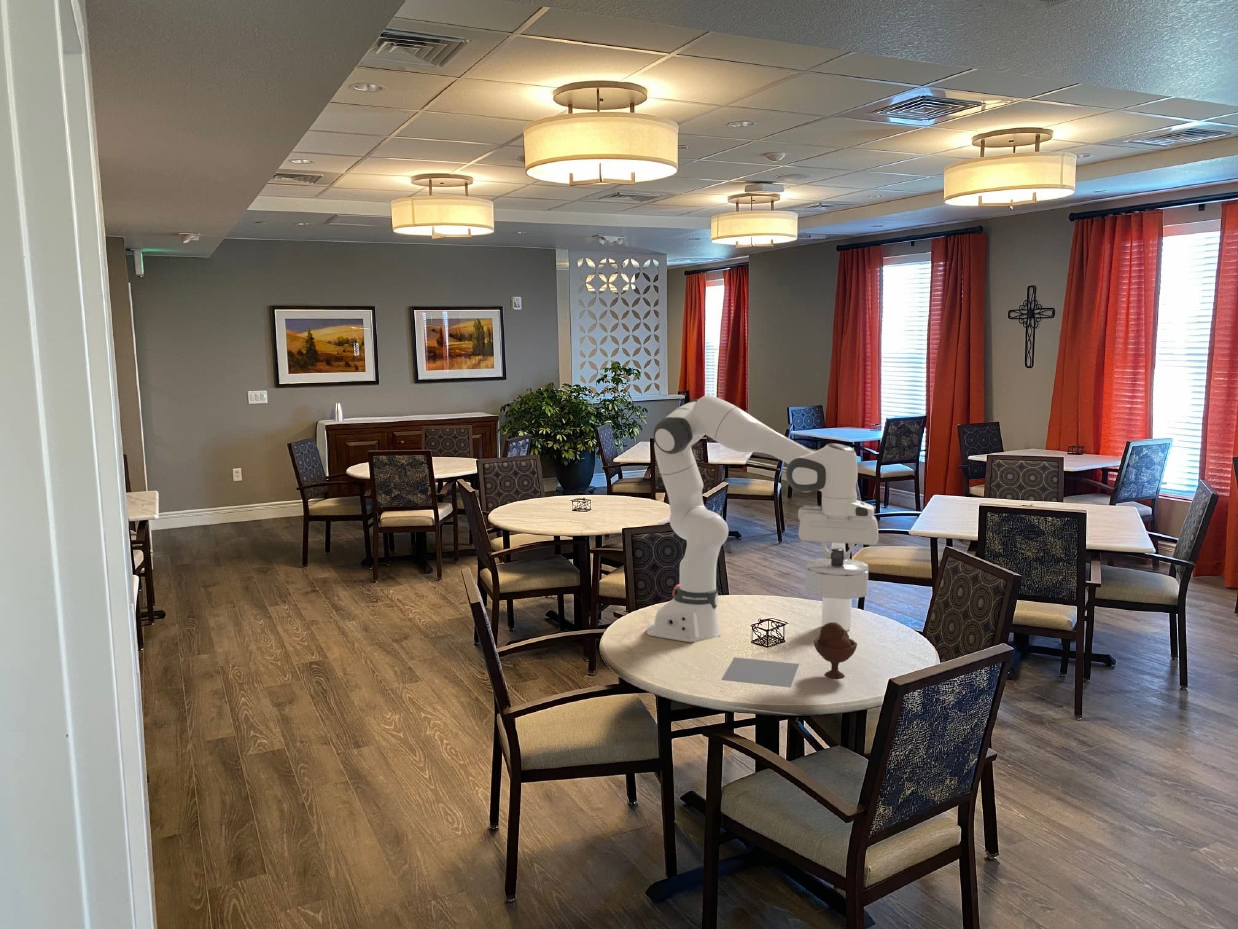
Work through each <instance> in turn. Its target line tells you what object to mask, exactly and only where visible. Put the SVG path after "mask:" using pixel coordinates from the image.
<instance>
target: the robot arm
mask: <svg viewBox="0 0 1238 929" xmlns="http://www.w3.org/2000/svg"><path fill="white" fill-rule="evenodd" d="M705 435H706V436H707V437H708V438H711V439H712V440H714V441H715V442H716V443H719V444H720V445H722V446H723V447H725V448H727V449H729V450H733V451H735V452H738V453H761V454H766V455H771V456H772V457H775V458H776V459H778V460H780V461H782V462H784V463H785V464H787V467H786V470H785V478H786V481H787V483H788V485H789V486H790V487H791V489H793V490H795V491H796V492H799V493H810V492H815V491H820V492H821V505H808V504H807V505H803V506H801V507H800V508H799V509H798V510H797V513H798V514H797V517H798V521H799V526H798V538H799V539H800V541H805V542H807V541H808V542H818V543H820V542H821V548H822V549H823V552H824V553H825V554H824V555H825V556H824V558H825V559H831V550H829V549H828V547H827V546H828V543H832V542H834V543H845V544H848V548H849V549H848V550H847V551H846V552H844V558H843V560H849V559H851V558H850V557H851V555H850V554H851V553H852V551H853V550H854V548H855V545H866V546H876V545H877V543H879V525H878V520H877V518H876V516H874V515H875V514H874V513H875V506H873V505H872V504H870V503H868V502H867V503H866V502H864V501H860V500H858V494H857V489H856V488H857V487H856V486H857V483H858V473H859V471H858V469H859V468H858V457H857V453H856V451H855V449H854V448H852V447H851V446H848V445H845V444H841V443H827V444H826V445H825V446H824V447H822V448H820V449H813V448H810V447H809V448H808V447H806V446H804V445H803V444H802V443H801V444H800V443H799V442H797V441H795V440H793V439H792V438H789V437H787V436H786V435H784V434H782V433H781V432H778V431H776V430H774V429H773V428H771V427H769V426H768V425H766V424H765V423H763V422H761V421H760V420H758V419H757V418H755V417H753V415H751V414H749V413H748V412H746V411H744V410H743V409H741V408H740V407H738V406H736V405H735V404H732V403H730V401H729V402H728V400H727V401H726V400H724V399H722V398H720V397H717V396H713V395H703V396H701V397H700V398H696V399H693V400H692V399H691V400H690V401H688V402H687V403H685V404H683V405H681V406H679V407H677V408H676V409H674V410H673V411H672V412H671V413H669V414H668V415H667V416H666V417H664V418H661V419H660V421H658V422H657V423H656V425H655V427H654V428H653V433H652V436H653V441H654V443H653V444H654V445H653V446H654V447H653V448H654V453H655V460H656V463H657V467H658V471H659V473H660V476H661V479H662V482H663V485H664V487H665V490H666V493H667V497H668V502H669V508H670V516H669V525H670V527H671V528H670V529H672V530H673V532H674V533H675V534H676V535H677V536H678V537H680V538H681V539H683V540H686V548H685V551H684V556H683V558H682V559H681V561H680V562H679V583H678V584H676V585H675V586H674V588H673V591H672V597H673V598H672V599H671V600H670V601H668V602H666V603H665V604H664V605H662V606H661V607H660V608H659V609H657V612H656V614H655V617H654V621H653V622H651V623H650V624H649V625H648V626H647V629H646V634H647V635H648V636H651V637H657V638H662V639H668V640H674V641H681V642H685V643H694V642H698V641H705V640H712V639H716V638H718V637H720V636H721V634H722V632H721V628H720V625H719V619H718V611H717V610H718V609H717V607H718V604H719V602H718V601H719V599H718V598H719V597H718V596H719V594H718V588H717V565H718V564H717V563H718V560H719V559H718V557H719V555H720V551H721V547H722V546H723V544H724V543H725V542H726V541H727V539H728V537H729V526H728V523H727V522H726V520H724V518H723V517H722V516H721V515H720V514H718V513H716V512H715V511H712V510H709V509H707V507H706V506H705V504H704V499H703V489H704V482H703V478H702V476H701V473H700V470H699V467H698V463H697V461H696V459H695V456H694V453H693V450H692V446H693V445H695V444H697V443H698V442H699V441H700V440H701V439H702V438H703V437H704V436H705Z"/></svg>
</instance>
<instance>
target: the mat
mask: <svg viewBox="0 0 1238 929" xmlns="http://www.w3.org/2000/svg"><path fill="white" fill-rule="evenodd" d="M799 665H800V663H796V662H795V663H794V662H793V663H792V662H784V661H774V660H773V661H772V660H765V659H755V658H754V659H753V658H746V657H745V658H744V657H737V656H736V657H735V656H734V657H733V658H732V660H731V662H730V664H729V666H728V667H727V669H726V671H725V673H724V675H722V677H721V681H729V682H738V683H748V684H755V685H765V686H766V685H767V686H773V687H775V686H776V687H784V688H791V687H792V686H793V682H794V680H795V677H796V674H797V670H798V668H799Z"/></svg>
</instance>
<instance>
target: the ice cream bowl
mask: <svg viewBox="0 0 1238 929" xmlns="http://www.w3.org/2000/svg"><path fill="white" fill-rule="evenodd" d="M813 644H814V648H815V650H816V652H817V653H818V654H819V655H820V656H821V657H822V658H823V659H824V660H825V661H826V662H830V664H831V667H830V668H831V669H830V670H828V671H826V672H825V673H824V674H823V676H825V677H826V678H828V679H832V680H841V679H844V678H845V677H846V675H845V674H844V673H843V672H841V671H840V670H839V665H840V663H844V662H846V661H847V660H849V659H850V658H851V657H852V656H853V655H854V653H855V652H856V650H857V646H858V643H857V642H856V641H855V640H854V639H852V638H850V636H849V634H848V631H845V630H844V629H843V628H842V627H841V625H839V624H837V623H832V622H830V623H827V624H825V625H824V626H821V629H820V632H819V637H817V638H815V640H814V641H813Z"/></svg>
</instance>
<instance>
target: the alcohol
mask: <svg viewBox="0 0 1238 929" xmlns="http://www.w3.org/2000/svg"><path fill="white" fill-rule="evenodd" d="M833 548H841V549H844V552H847V551H846V543H834V542H831V549H833ZM821 599H822V600H821V601H822V604H821V605H822V606H821V625H822V626H821V627H823V626H824V625H825V624H827V623H830V622H832V623H837V624H839V625H841V627H842V628H843V629H844V630H845V631H847V632H848V631H849V630H850V629H851V627H852V600H853V599H835V598H821Z"/></svg>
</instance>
